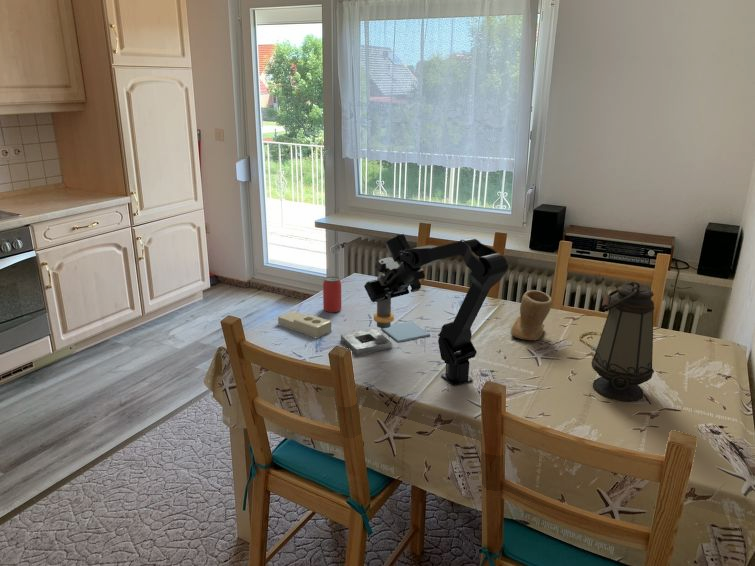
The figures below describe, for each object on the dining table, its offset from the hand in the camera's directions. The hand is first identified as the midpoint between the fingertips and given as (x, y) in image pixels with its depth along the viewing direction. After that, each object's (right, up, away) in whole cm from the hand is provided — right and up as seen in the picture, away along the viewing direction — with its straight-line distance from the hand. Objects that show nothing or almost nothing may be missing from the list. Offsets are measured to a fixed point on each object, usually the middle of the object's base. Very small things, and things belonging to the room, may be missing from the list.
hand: (381, 299), depth 173 cm
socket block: (-5, -14, -1) cm, 15 cm away
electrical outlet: (-26, -11, +11) cm, 30 cm away
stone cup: (+50, -12, +9) cm, 52 cm away
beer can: (-18, -5, +27) cm, 33 cm away
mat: (+8, -11, +9) cm, 16 cm away
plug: (+1, -9, +2) cm, 9 cm away
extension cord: (+70, -15, +3) cm, 72 cm away
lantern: (+64, -24, -26) cm, 73 cm away
